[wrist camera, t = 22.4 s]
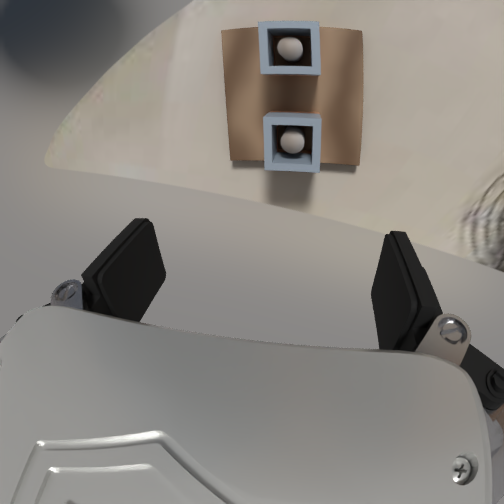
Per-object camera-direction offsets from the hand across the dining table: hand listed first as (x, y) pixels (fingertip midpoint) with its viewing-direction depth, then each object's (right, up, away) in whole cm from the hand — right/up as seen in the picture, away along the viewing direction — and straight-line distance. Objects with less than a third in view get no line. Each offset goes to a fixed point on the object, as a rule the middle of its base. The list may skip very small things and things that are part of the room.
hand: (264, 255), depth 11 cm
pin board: (+5, +19, +18) cm, 27 cm away
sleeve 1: (+4, +22, +14) cm, 27 cm away
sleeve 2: (+5, +14, +20) cm, 25 cm away
